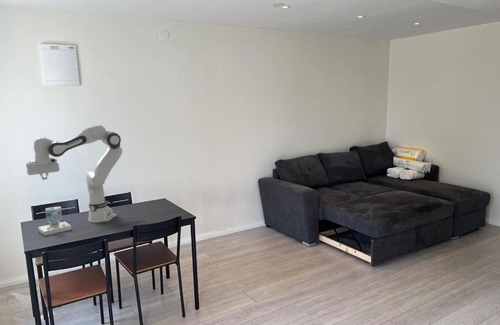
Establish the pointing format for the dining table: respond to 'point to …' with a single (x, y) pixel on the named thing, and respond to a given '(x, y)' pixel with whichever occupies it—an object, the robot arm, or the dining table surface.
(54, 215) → the breaker lever
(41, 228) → the switch panel
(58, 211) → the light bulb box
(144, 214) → the dining table surface
